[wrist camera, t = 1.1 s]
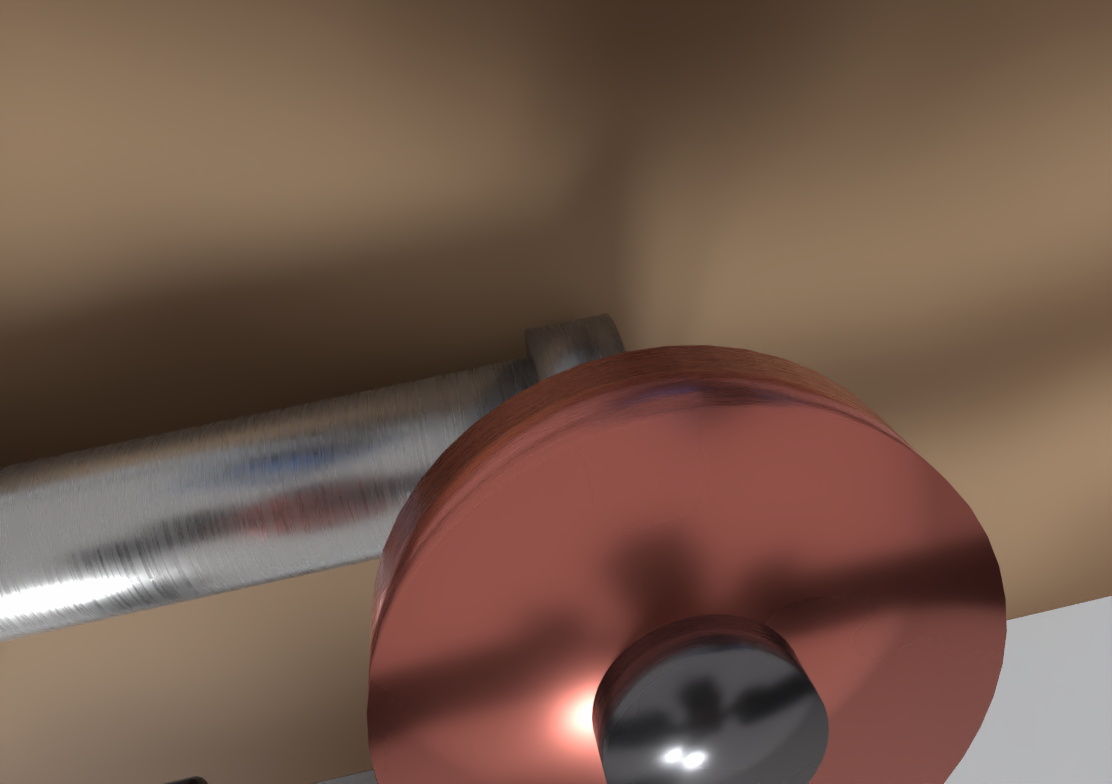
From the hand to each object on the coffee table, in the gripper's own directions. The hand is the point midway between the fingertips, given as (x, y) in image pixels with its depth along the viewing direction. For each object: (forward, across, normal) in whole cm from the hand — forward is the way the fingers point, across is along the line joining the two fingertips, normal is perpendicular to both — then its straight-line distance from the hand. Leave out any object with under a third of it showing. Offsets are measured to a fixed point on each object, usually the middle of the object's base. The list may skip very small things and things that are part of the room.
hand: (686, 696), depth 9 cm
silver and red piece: (+7, +6, 0) cm, 10 cm away
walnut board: (+8, +4, 0) cm, 9 cm away
